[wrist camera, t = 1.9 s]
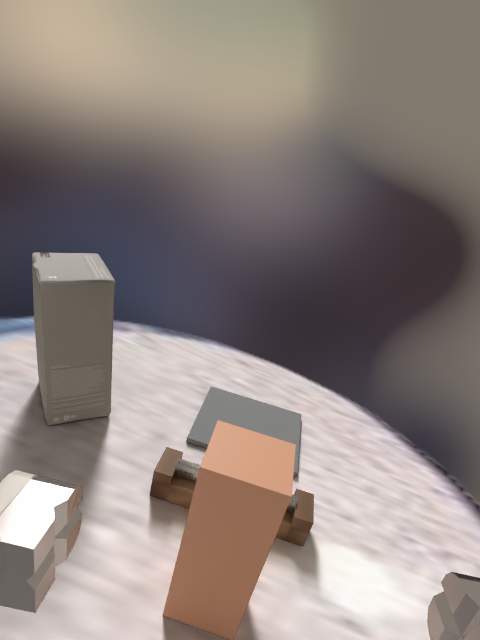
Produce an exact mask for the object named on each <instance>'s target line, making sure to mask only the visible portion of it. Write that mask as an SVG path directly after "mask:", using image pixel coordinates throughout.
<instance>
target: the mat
mask: <svg viewBox="0 0 480 640" xmlns="http://www.w3.org/2000/svg"><path fill="white" fill-rule="evenodd" d="M218 420H219V421H222V422H225V423H229V424H232V425H235V426H238V427H241V428H245V429H248V430H251V431H254V432H257V433H260V434H264V435H267V436H270V437H273V438H276V439H280V440H283V441H286V442H289V443H292V444H296V448H295V461H294V474H293V476H294V477H296V476H297V473H298V459H299V443H300V428H301V414H299V413H296V412H292V411H289V410H286V409H283V408H279V407H276V406H273V405H269V404H266V403H263V402H260V401H256V400H253V399H250V398H247V397H243V396H240V395H237V394H234V393H230V392H227V391H224V390H221V389H217V388H214V387H211V388H210V390H209V392H208V394H207V396H206V398H205V401H204V403H203V405H202V407H201V409H200V411H199V414H198V416H197V418H196V420H195V422H194V424H193V427H192V429H191V431H190V433H189V435H188V437H187V441H186V442H188V443H191V444H194V445H197V446H200V447H204V448H207V447H208V445H209V442H210V439H211V437H212V434H213V432H214V429H215V426H216V424H217V421H218Z"/></svg>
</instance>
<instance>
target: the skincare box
mask: <svg viewBox="0 0 480 640" xmlns="http://www.w3.org/2000/svg"><path fill="white" fill-rule="evenodd" d="M32 262H33V293H34V322H35V335H36V348H37V362H38V375H39V386H40V392H41V397H42V402H43V408H44V413H45V418H46V423H47V425H53V424H60V423H65V422H70V421H76V420H81V419H88V418H95V417H102V416H109V415H110V413H111V379H112V344H113V312H114V286H115V280H114V279H113V277H112V275H111V274H110V272H109V270H108V269H107V267H106V265H105V264H104V262H103V261H102V260H101V258H100V256H99V255H98V254H89V253H87V254H86V253H33V257H32Z"/></svg>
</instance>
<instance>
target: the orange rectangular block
mask: <svg viewBox="0 0 480 640" xmlns="http://www.w3.org/2000/svg"><path fill="white" fill-rule="evenodd" d="M295 448H296V444H292V443H289V442H286V441H283V440H280V439H276V438H273V437H270V436H267V435H264V434H260V433H257V432H254V431H251V430H248V429H245V428H241V427H238V426H235V425H232V424H229V423H225V422H222V421H219V420H218V421H217V424H216V426H215V429H214V432H213V434H212V437H211V439H210V442H209V445H208V447H207V450H206V453H205V455H204V458H203V461H202V463H201V466H200V469H199V473H198V477H197V481H196V485H195V489H194V493H193V497H192V501H191V505H190V509H189V513H188V517H187V521H186V525H185V529H184V533H183V537H182V541H181V545H180V549H179V553H178V557H177V561H176V564H175V568H174V572H173V576H172V580H171V584H170V588H169V592H168V596H167V600H166V604H165V608H164V612H163V616H165V617H168V618H171V619H174V620H177V621H179V622H182V623H185V624H188V625H191V626H193V627H196V628H199V629H202V630H205V631H207V632H210V633H213V634H216V635H219V636H221V637H224V638H227V639H230V640H233V639H234V637H235V634H236V632H237V630H238V627H239V625H240V622H241V620H242V617H243V615H244V612H245V610H246V608H247V605H248V603H249V600H250V598H251V595H252V593H253V590H254V588H255V585H256V583H257V581H258V578H259V576H260V573H261V571H262V568H263V566H264V563H265V561H266V559H267V556H268V554H269V551H270V549H271V546H272V544H273V541H274V539H275V536H276V534H277V532H278V529H279V527H280V524H281V522H282V519H283V517H284V514H285V512H286V509H287V507H288V505H289V502H290V500H291V497H292V486H293V474H294V461H295Z"/></svg>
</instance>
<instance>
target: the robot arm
mask: <svg viewBox="0 0 480 640" xmlns="http://www.w3.org/2000/svg"><path fill="white" fill-rule="evenodd" d="M81 500H82V487H80V486H77V485H73V484H69V483H66V482H62V481H58V480H54V479H50V478H47V477H43V476H39V475H34V474H30V473H26V472H22V471H18V470H15V471H13V472H11V473H9V474H8V475H7V476H6V477H5V478H4V479H3V480H2V481H1V482H0V605H1V606H5V607H10V608H15V609H19V610H24V611H29V612H34V613H36V611H37V609H38V608H39V606H40V604H41V602H42V601H43V599H44V597H45V596H46V594H47V592H48V590H49V589H50V587H51V585H52V583H53V582H54V580H55V566H57V565H59V564H60V563H62V562H63V561H65V560H66V559H67V557H68V555H69V554H70V552H71V550H72V548H73V546H74V544H75V541H76V539H77V536H78V534H79V530H80V525H81V518H82V513H81V512H80V510H79V509H78V507H77V506H78V505H79V503H80V501H81ZM441 583H442V586H443V589H444V592H442V593H440V594H437V595H435V596H434V597H433V599H432V601H431V603H430V605H429V607H428V620H427V622H428V629H429V635H430V639H431V640H480V578H478V577H473V576H468V575H464V574H459V573H455V572H450V573H448V574H446V575H445V577H444V579H443V580H442V582H441Z"/></svg>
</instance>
